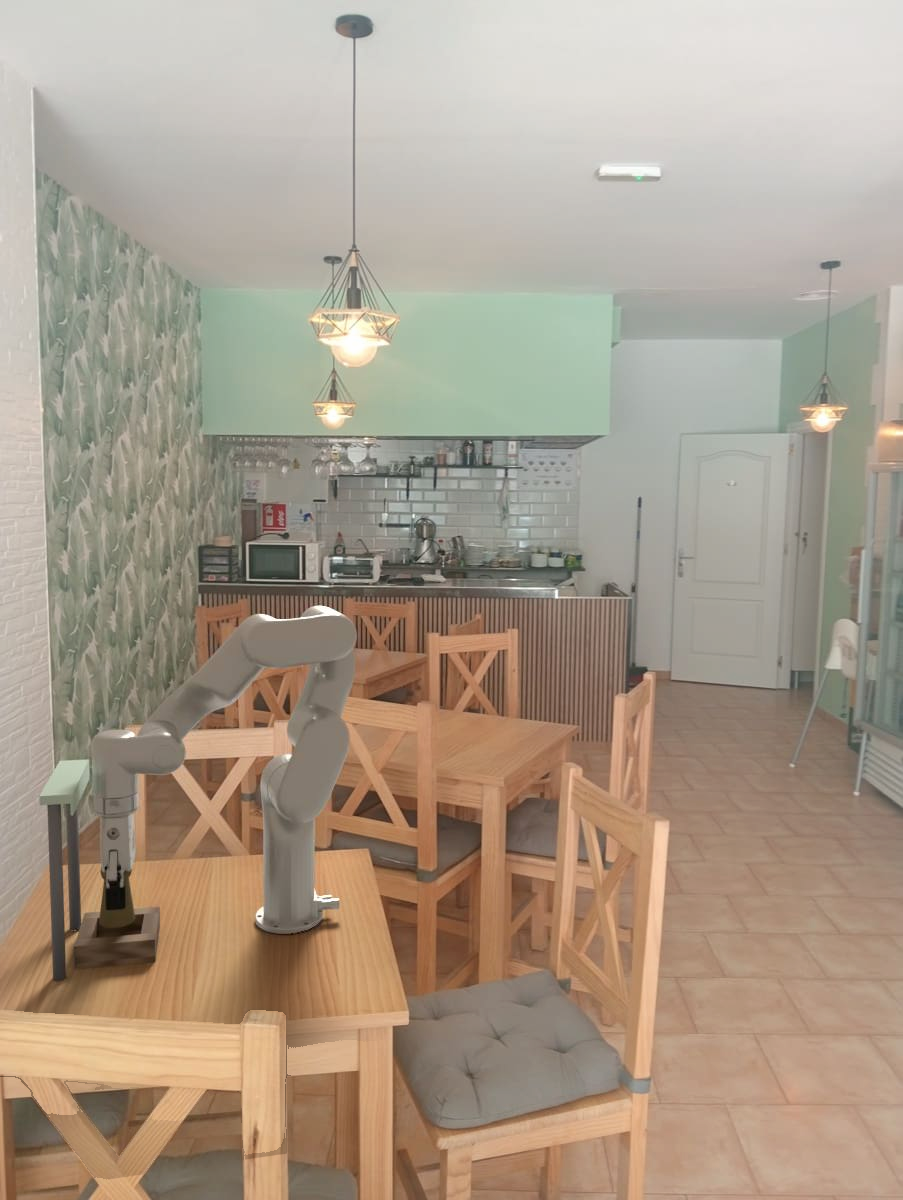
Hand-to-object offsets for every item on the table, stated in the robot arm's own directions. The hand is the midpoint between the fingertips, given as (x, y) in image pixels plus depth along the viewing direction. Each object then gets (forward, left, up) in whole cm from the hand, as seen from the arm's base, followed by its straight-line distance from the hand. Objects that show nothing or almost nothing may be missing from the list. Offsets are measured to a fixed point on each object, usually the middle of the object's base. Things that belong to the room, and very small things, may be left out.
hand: (117, 902), depth 166 cm
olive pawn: (0, 0, -3) cm, 3 cm away
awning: (+8, 0, -8) cm, 12 cm away
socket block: (0, 0, -8) cm, 8 cm away
